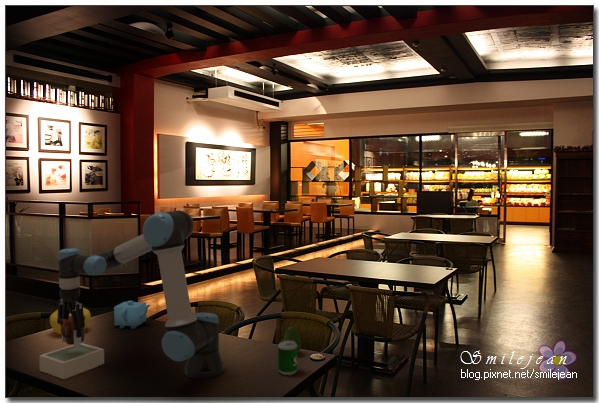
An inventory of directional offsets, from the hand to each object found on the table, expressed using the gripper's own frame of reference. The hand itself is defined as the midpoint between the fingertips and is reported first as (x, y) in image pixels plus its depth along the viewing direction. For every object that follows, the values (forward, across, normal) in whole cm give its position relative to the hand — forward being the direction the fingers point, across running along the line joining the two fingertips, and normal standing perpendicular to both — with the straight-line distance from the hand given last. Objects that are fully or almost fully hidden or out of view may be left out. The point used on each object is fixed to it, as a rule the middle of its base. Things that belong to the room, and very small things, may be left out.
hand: (71, 343), depth 203 cm
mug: (0, -1, 0) cm, 1 cm away
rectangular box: (+10, 0, 0) cm, 10 cm away
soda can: (+10, -78, -40) cm, 89 cm away
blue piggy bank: (+10, +22, -50) cm, 56 cm away
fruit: (+10, -69, -58) cm, 90 cm away
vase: (+10, +41, -26) cm, 50 cm away
